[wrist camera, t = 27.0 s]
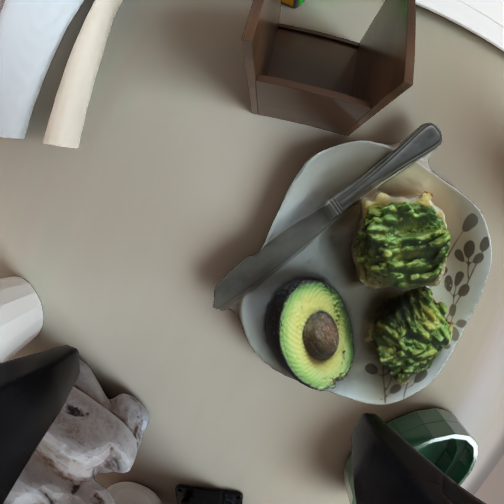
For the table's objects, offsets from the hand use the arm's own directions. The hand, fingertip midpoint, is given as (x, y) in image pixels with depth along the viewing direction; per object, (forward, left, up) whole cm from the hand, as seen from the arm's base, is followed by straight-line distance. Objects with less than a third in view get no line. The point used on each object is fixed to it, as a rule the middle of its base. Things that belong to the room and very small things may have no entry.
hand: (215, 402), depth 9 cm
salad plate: (+1, -8, -13) cm, 15 cm away
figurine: (-12, +13, -13) cm, 21 cm away
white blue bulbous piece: (+23, +15, -13) cm, 30 cm away
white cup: (-4, +19, -13) cm, 23 cm away
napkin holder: (+15, -4, -13) cm, 20 cm away
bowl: (-16, -16, -13) cm, 26 cm away
